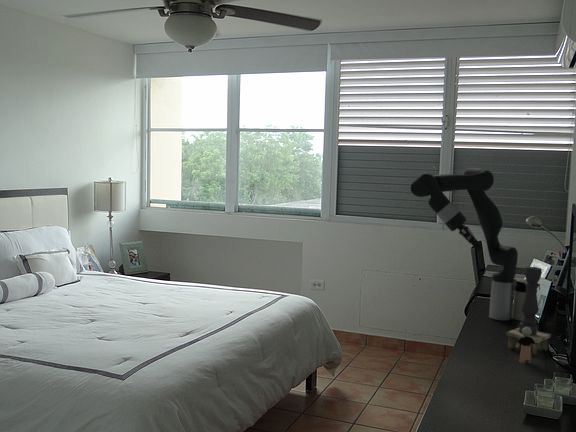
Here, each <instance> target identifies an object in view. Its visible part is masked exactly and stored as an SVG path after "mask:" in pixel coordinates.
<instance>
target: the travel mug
mask: <svg viewBox="0 0 576 432" xmlns="http://www.w3.org/2000/svg"><path fill="white" fill-rule="evenodd" d="M515 281H516V284H515V285H514V287H513V299H512V310H511V319H512V320H515V321H519V322H522V321H521V319H522V318H523V317H524V315H523V312H522V310H521V306H522V304H523V301H524V298H525V295H526V285H525V283H526V282H527V280H526V278H516V279H515Z"/></svg>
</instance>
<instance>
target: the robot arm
mask: <svg viewBox="0 0 576 432" xmlns="http://www.w3.org/2000/svg"><path fill="white" fill-rule="evenodd" d="M494 180H495V178H494V174H493V173H492V172H491V171H489V170H488V169H484V168H480V167H469V168H466V169H465V171H464V173H463V174H458V173H444V174H435V175H432V174H431V173H429V172H423V173H421V174H420V175H419V176H418V177H417V178H415V180H413V181H412V183H411V185H410V187H409V189H410V192H411V193H412V194H413V195H414V196H415V197H419V198H424V197H428V196H430V198H429V199H428V206H430V207H429V208H431V210H433V211H434V212H435V214H437V216H438V217H439V219H440V220H441V221H442V222H443V223H444V225H445V226H446V227H447V228H448V229H449V230H450V231H451V232H454V231H456V230H457V229H458V231H459V232H458V233H459V235H460V236H461V237H463V238H464V239H465V241H466V242H468V243H469V244H471V245H472V247H474V249H475V250H476V251H478V252H479V251H481V249H483V247H482V244H481V243H480V242H479V241H478V239H477V238H476V237H475V235H474V234H473V233H474V232H472V230H471V229H470V227H468V225H465V222H466V221H467V217H466V216H465V215H464V214H463V213H462V212H461V210H459V208H458V207H457V206H455V204H453V203H452V202H451V201H450V199H448V198H447V196H446V195H445V192H454V191H464V190H465V191H467V193H468V195H469V198H470V199H471V201H472V204H473V206H474V210H475V212H476V215H477V218H478V221H479V224H480V227H481V229H482V232H483V236H484V239H485V242H486V246H487V251H488V255H489V259H490V262H491V263H492V264H494V265H496V266H501V267H503V268H502V271H500V272H495V273H493V274H492V277H491V288H490V301H489V312H488V318H491V319H492V320H496V321H510V320H511V318H512V307H513V295H514V282H515V281H514V280H515V277H516V273H517V272H516V271H517V265H518V259H519V258H518V257H519V256H518V255H519V254H518V250H517V248H516V247H513V246H509V245H502V244H501V243H500V241H499V234H500V232H501V230H502V228H503V224H504V223H503V218H502V215H501V213H500V210H499V208H498V206H497V205H496V204H495V203H494V202H493V201H492V199H491V198H490V197H489V196H488V195H487V193H486V192H487V191H488V190H490V189H491V188H492V187H493V184H494Z"/></svg>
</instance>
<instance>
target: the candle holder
mask: <svg viewBox="0 0 576 432" xmlns="http://www.w3.org/2000/svg"><path fill="white" fill-rule="evenodd" d="M524 277H525V278H524V279H526V280H527V282H526V283H525V285H526V295H525V298H524V301H523V304H522V306H521V310H522V312H523V315H524V317H523V318H522V319H521V321H520V322H519V327H518V328H519V332H520V333H522V329H523V328H524V327H530V329H531V331H532V334H530V335H536V334H537V331H538V324H537V322H538V321H537V319H536V315H538V312H539V304H538V297H537V295H538V294H537V293H538V288H539V287H540V284H539V281H540V280H541V278H542V268H540V267H536V266H535V267H534V266H525V269H524ZM522 334H523V333H522Z"/></svg>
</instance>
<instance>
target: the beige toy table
mask: <svg viewBox="0 0 576 432" xmlns="http://www.w3.org/2000/svg"><path fill="white" fill-rule="evenodd" d="M505 333H506V334H505V335H506V337H507V336H508V341H507V349H511V350H512V349H514V338H515V339H518V340H519V339H520V338H523V337H525V336H524V335H523V334H522V333H520V332H519V327H517V328H514V329H511V330H509V331H506V332H505ZM551 336H552V334H551V333H547V332H542V331H540V330H539V331H538V330H537V334H536V335H530V336H529V337H531V338H532V339H533V340H534V342H535V345H536V348H533V345H532V344H531V345H532V346H531V355H532V356H533V355H534V356H537V355H538V346H539V343H541V350H543V351H547V350H548V342H549V339H550V338H552V337H551Z"/></svg>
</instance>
